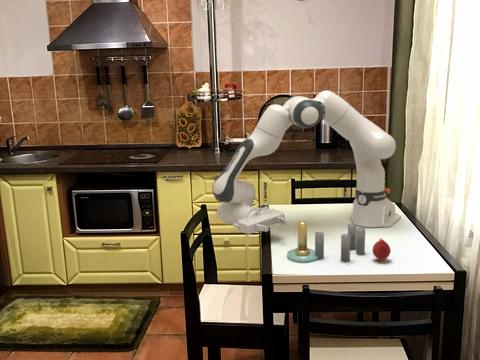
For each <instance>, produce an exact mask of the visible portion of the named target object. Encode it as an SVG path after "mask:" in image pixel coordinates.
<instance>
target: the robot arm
mask: <svg viewBox="0 0 480 360" xmlns="http://www.w3.org/2000/svg"><path fill="white" fill-rule="evenodd" d="M322 120H323V121H324V122H325V123H326V124H327V125H328V126H329V127H331V128H332V129H333V130H334V131H335V132H337V133H338V134H339V135H340V136H341V137H343V138H345V139H346V140H347V141H349V144H350V146H351V148H352V152H353V157H354V163H355V166H356V167H355V168H356V188H355V193H354V195H355V197H354V198H355V199H354V200H353V203H352V204H353V205H352V210H351V211H352V213H351V215H349V219H350V220H351V222H352V223H351V224H356V226H358V227H362V228H389V227H392V226H393V225H394V224H395V223H397V222H398V221H399V220H401V219H402V216H401V215H400V214H398V213H396V205H395V204H394V203H393V202H392V201H391V200H390V199H389V198H388V196H387V194H390V191H391V190H390V188H385V183H386V181H385V179H386V176H385V175H386V170H385V168H384V166H383V165H382V161H381V160H386V159H389V158H391V157H392V156H393V154H394V153H395V151H396V149H397V148H396V147H397V144H396V143H397V142H396V140H395V139H394V137H393V136H392V135H390V134H389V133H387V132H386V131H384V130H383V129H382V128H380V127H379V126H378V125H377V124H375V123H373V121H371V120H370V119H368V118H366V117H365V116H364V115H362V114H361V113H360V112H358V111H357V110H356V109H355V108H354V107H353V106H352V105H350V103H349V102H347V101H346V100H344V99H343V98H342V97H341V96H339V95H338V94H336V93H334V92H333V91H331V90H327V89H326V90H323V91H320V92H319V93H318V94H317V95H315V97H314V98H309V97H306V96H302V95H297V94H296V95H293V96H290V97H289V98H287V99H286V100H285V101H283V102H282V103H281V104H275V103H274V104H271V105H268V107H266V109H265V110H264V112H263V114H262V115H261V117H260V118H259V121H258V122H257V125H256V126H255V128H254V130H253V131H252V132H251V134H250V136H248V137H247V138H246V139H245V140H243V141H241V143H240V144H239V145H238V146H237V148H236V150H235V151H234V153H233V155H232V156H231V158H230V159H229V160H228V163H227V165H226V166H225V167H224V169H223V171H222V172H221V173H220V174H219V175H218V176H217V177H216V179H215V180H214V182H213V184H212V187H211V188H212V189H211V190H212V195H213V196H214V197H213V198H214V199H215V200H216V201H217V202H219V204H218V205H217V208H216V215H217V217H218V218H219V219H220V220H221V221H222V222H224V223H226V224H228V225H232V226H233V228H237V230H238V231H239V232H241V233H244V234H247V235H248V234H249V235H250V234H253V233H255V232H256V233H257V232H266V233H267V232H269V231H270V227H273V226H277V225H279V224H280V225H281V226H286V225H288V220H287V219H286V218H285V217H286V215H285V213H284V211H281V210H278V209H276V208H275V209H274V208H271V207H270V208H269V206H267V205H262V206H261V205H260V206H254V205H253V204H254V202H255V197H256V188H255V185H254V184H253V183H252V182H250V181H247V180H242V179H240V178H239V179H238V177H239V176H240V174H241V172H242V171H243V169H244V167H245V166H246V164H247V163H248V162H249V161H251V160H253V159H254V158H258V157H264V156H268V155H271V154H273V153H275V152H276V150H277V149H278V148H279V146H280V144H281V142H282V140H283V137H284V135H285V133H286V131H287V130H288V129H289V127H291V126H292V125H296V126H298V127H300V128H303V129H310V128H313V127H315V126H317V124H319V123H320V122H321V121H322Z"/></svg>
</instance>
